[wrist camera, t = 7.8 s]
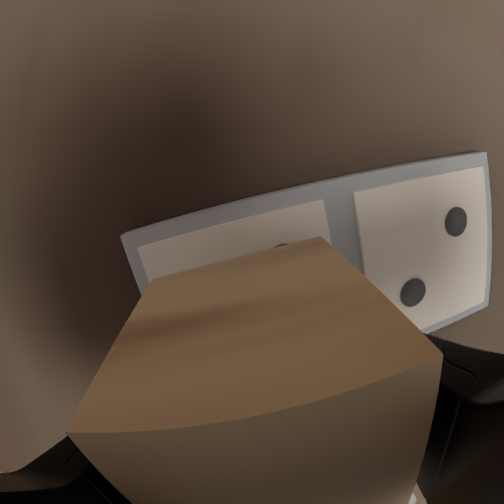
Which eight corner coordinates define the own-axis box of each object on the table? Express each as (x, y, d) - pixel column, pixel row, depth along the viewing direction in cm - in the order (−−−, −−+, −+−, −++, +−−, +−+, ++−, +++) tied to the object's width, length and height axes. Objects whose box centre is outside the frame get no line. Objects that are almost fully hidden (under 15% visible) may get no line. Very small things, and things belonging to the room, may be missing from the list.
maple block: (341, 370, 10) (406, 509, 5) (205, 402, 10) (195, 552, 5) (320, 235, 9) (443, 353, 3) (153, 278, 9) (65, 432, 3)
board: (477, 151, 11) (490, 152, 10) (481, 301, 13) (491, 308, 12) (125, 232, 11) (117, 237, 10) (190, 391, 13) (187, 404, 12)
